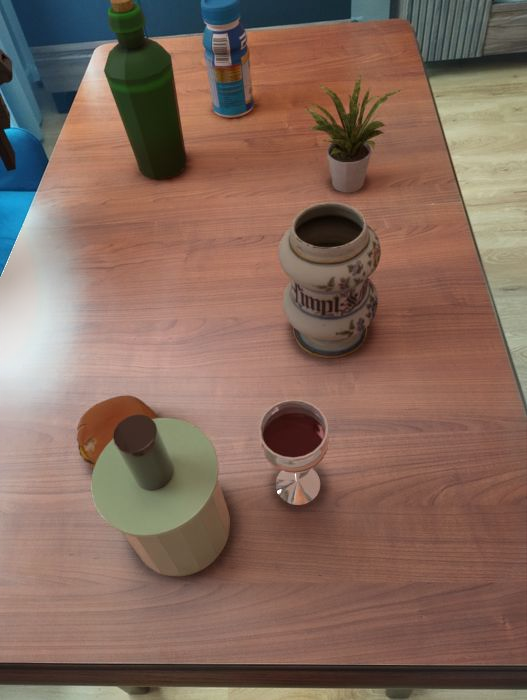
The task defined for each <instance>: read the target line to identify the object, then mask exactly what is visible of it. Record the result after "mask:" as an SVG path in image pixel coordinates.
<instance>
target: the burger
mask: <svg viewBox="0 0 527 700" xmlns="http://www.w3.org/2000/svg"><path fill="white" fill-rule="evenodd" d="M132 415H145V416H148V417H150V418H151V419H156V418H159V417H158V415H157V414H156V412H155V411H154V409H152V408H151V407H150V406H148V404H146V403H145V402H144V401H143V400H142V399H140V398H138V397H136V396H133V395H130V394H129V395H128V394H127V395H118V396H114V397H111V398H108V399H105V400H102V401H100V402H98V403H96V404H94V405H93V406H91V407H90V408H89V409H88V410H86V411H85V413H84V414H83V415H82V416H81V418H80V420H79V423H78V425H77V429H76V431H77V434H76V441H77V443H78V451H79V455H80V456H81V457H82V458H83V460H84V461H85V463H87V464H89V466H91V469H92V470H94V467H95V465H96V462H97V460H98V458H99V456H100V454H101V453H102V451H103V450H104V448H105V447H106V446H107V445H108V444H109V442H110V441H111V440H113V434H114V430H115V428H116V427H117V425H118V424H119V423H120V422H121V421H122V420H123V419H125V418H127V417H129V416H132Z"/></svg>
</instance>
